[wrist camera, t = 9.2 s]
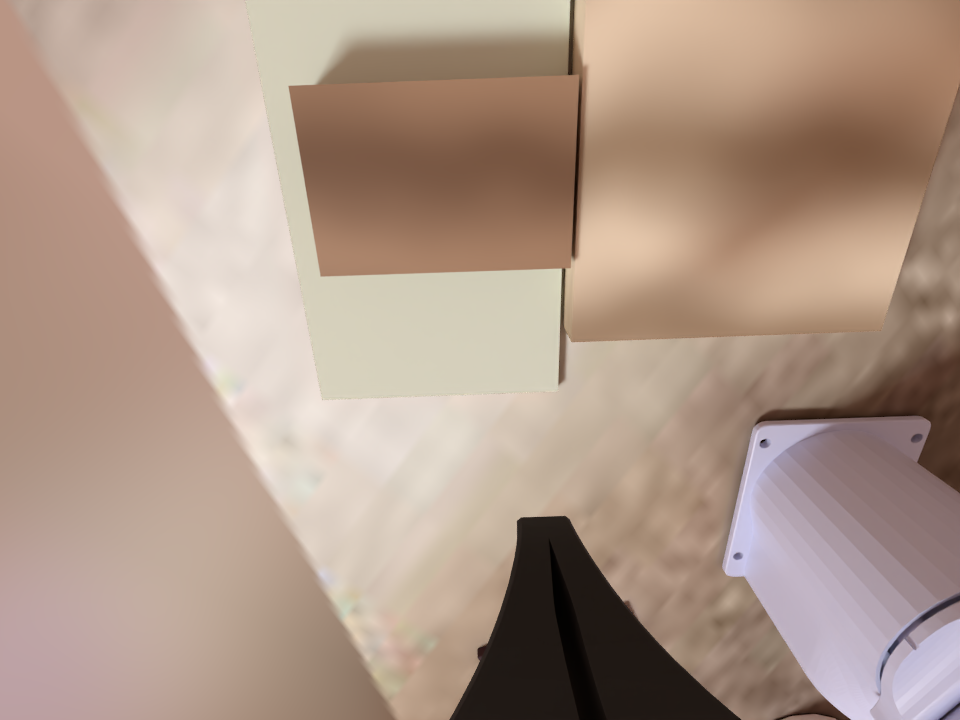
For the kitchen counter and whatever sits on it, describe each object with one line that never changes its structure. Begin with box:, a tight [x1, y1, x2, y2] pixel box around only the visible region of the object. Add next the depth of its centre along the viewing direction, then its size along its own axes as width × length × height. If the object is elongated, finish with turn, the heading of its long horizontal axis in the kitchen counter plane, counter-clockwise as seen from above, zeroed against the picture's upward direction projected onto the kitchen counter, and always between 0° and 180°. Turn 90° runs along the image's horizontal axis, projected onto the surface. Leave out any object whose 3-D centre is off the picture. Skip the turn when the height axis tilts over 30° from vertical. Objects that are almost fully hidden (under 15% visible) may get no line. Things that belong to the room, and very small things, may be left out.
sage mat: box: [245, 0, 570, 400], centre depth 18 cm, size 18×11×1 cm, turn 2°
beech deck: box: [563, 0, 960, 342], centre depth 17 cm, size 12×12×2 cm
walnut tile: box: [288, 75, 579, 277], centre depth 17 cm, size 6×9×2 cm, turn 92°
